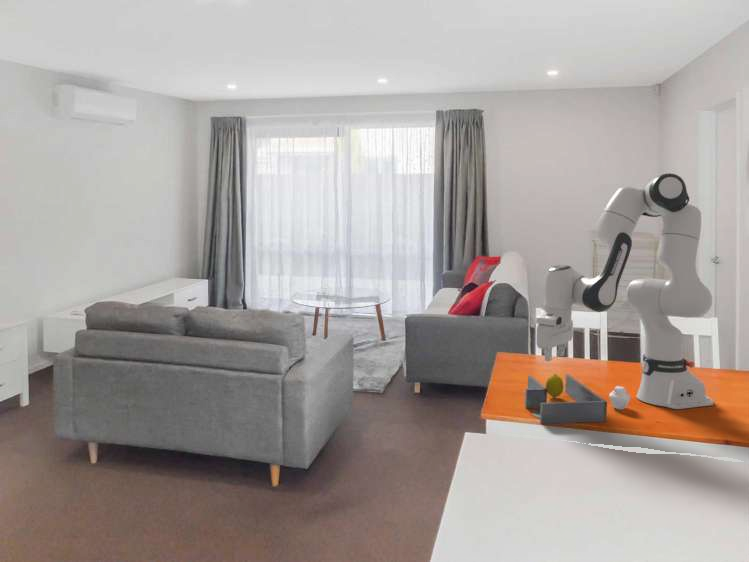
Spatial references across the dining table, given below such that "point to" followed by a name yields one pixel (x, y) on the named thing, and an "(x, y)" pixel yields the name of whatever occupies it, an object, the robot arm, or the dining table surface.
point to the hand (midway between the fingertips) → (554, 358)
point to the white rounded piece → (619, 397)
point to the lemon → (554, 385)
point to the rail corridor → (565, 404)
